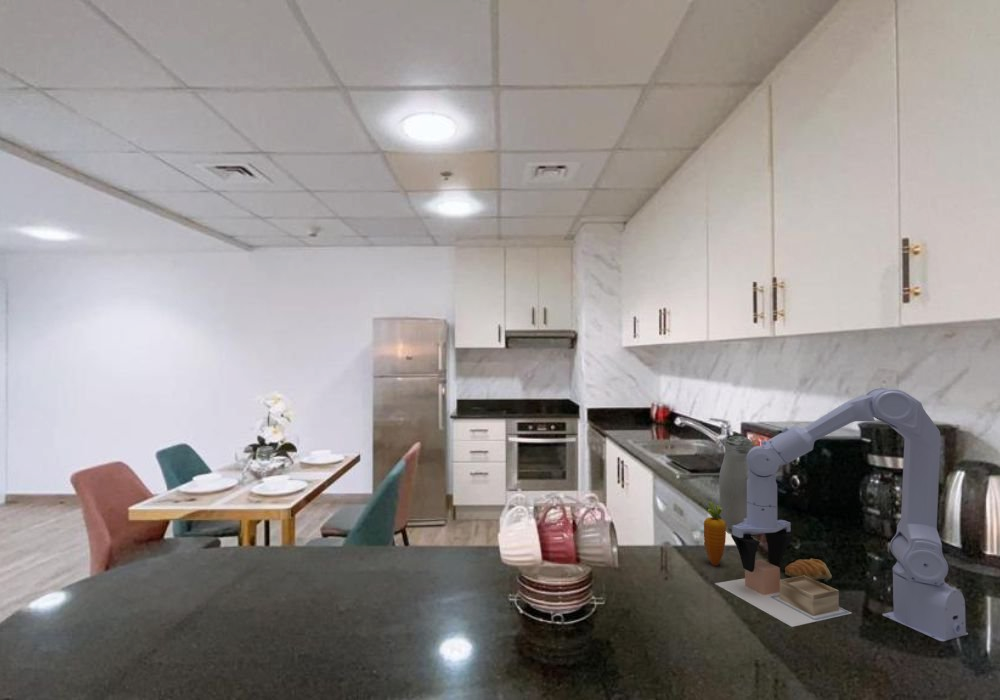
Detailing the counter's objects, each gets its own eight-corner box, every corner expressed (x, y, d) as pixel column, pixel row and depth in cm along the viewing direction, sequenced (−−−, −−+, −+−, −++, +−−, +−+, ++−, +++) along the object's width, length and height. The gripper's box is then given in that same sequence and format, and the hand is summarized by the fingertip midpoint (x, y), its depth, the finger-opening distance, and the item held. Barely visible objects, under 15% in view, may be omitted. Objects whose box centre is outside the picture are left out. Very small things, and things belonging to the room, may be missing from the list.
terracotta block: (780, 592, 97) (779, 567, 98) (763, 595, 96) (763, 570, 96) (760, 582, 102) (760, 559, 102) (745, 585, 100) (744, 561, 100)
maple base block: (838, 610, 90) (838, 590, 90) (813, 616, 88) (813, 595, 88) (804, 593, 97) (804, 575, 97) (779, 598, 94) (779, 579, 95)
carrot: (729, 572, 108) (728, 507, 109) (706, 570, 109) (706, 505, 110) (723, 563, 113) (723, 501, 114) (701, 561, 114) (701, 499, 115)
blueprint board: (852, 616, 89) (852, 612, 89) (791, 630, 84) (791, 626, 84) (769, 576, 106) (769, 573, 106) (714, 586, 101) (714, 583, 101)
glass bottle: (712, 527, 140) (712, 434, 142) (739, 524, 143) (739, 433, 145) (738, 538, 131) (738, 438, 132) (766, 535, 134) (766, 438, 135)
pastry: (801, 585, 102) (801, 568, 103) (776, 573, 109) (775, 556, 109) (834, 582, 105) (834, 564, 105) (808, 569, 111) (807, 553, 112)
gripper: (770, 496, 106) (770, 556, 105) (720, 500, 101) (720, 564, 100) (799, 504, 99) (799, 569, 99) (748, 509, 94) (748, 578, 94)
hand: (761, 567), depth 99 cm, fingers open, 7 cm apart
